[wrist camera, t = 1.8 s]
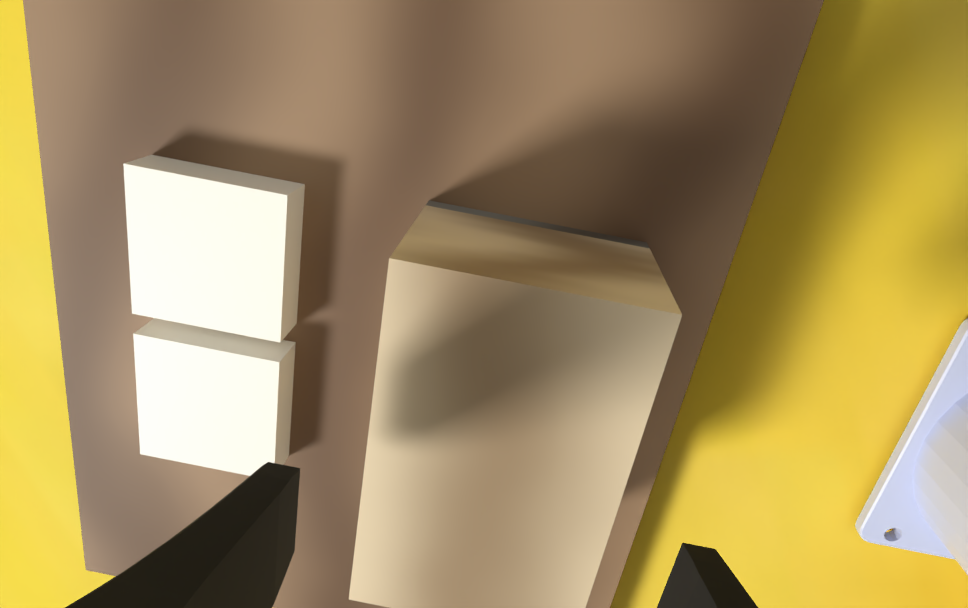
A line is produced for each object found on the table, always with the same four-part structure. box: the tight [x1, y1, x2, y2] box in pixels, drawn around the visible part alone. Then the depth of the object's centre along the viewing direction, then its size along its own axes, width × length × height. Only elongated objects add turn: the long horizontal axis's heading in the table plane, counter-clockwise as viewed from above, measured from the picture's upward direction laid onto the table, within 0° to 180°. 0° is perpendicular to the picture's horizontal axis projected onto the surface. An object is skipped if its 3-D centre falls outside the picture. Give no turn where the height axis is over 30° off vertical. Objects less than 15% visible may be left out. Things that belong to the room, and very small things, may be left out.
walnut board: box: [23, 0, 824, 608], centre depth 19 cm, size 18×22×2 cm
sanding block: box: [349, 200, 682, 608], centre depth 16 cm, size 6×9×4 cm, turn 170°
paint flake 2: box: [133, 318, 296, 476], centre depth 18 cm, size 4×4×1 cm
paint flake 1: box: [123, 155, 305, 342], centre depth 16 cm, size 4×4×1 cm
